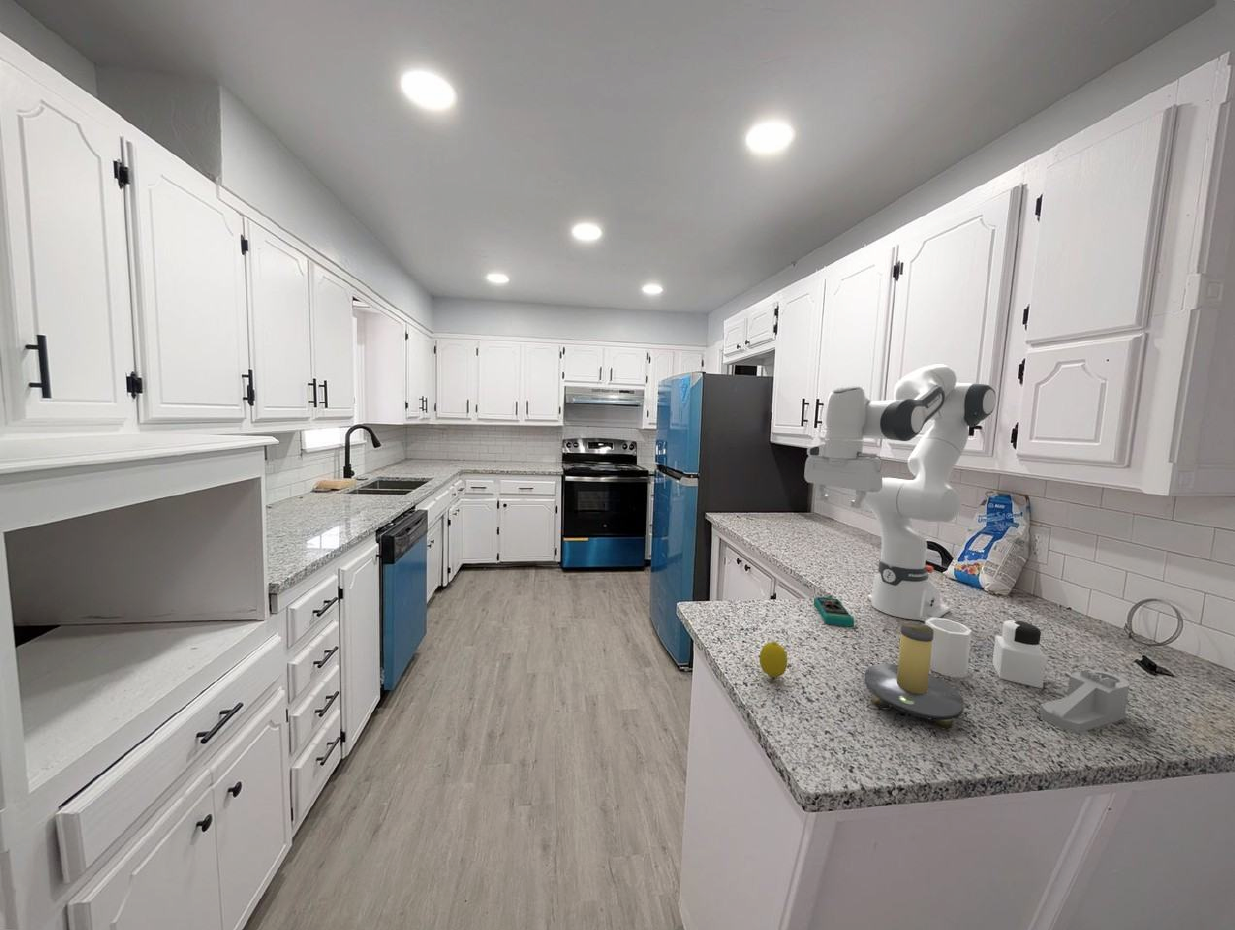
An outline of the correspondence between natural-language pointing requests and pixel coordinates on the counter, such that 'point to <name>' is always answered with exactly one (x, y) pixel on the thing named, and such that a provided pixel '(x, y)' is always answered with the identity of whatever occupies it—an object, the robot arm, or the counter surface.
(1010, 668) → the medicine bottle
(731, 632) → the counter surface
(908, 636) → the yellow lidded tumbler
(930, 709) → the plate
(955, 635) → the mug
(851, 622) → the digital multimeter
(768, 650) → the lemon
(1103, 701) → the sloped support bracket
